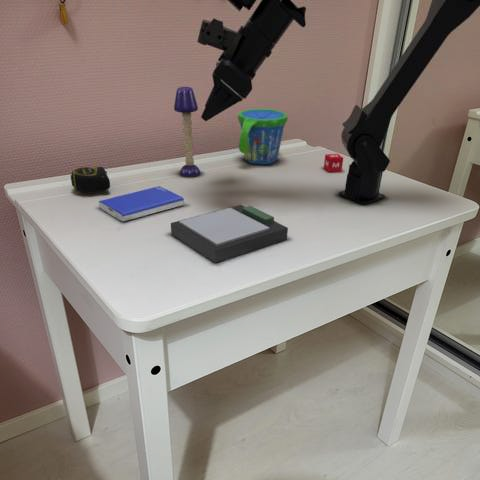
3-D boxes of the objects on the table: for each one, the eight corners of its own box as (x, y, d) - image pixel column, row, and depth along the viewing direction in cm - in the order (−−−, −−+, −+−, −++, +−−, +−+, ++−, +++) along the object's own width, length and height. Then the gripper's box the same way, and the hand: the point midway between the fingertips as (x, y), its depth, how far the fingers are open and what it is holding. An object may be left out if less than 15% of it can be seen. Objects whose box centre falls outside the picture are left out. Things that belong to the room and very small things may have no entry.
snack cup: (258, 173, 105) (260, 123, 99) (221, 163, 110) (221, 115, 104) (298, 158, 115) (302, 112, 109) (262, 149, 120) (264, 105, 114)
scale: (240, 215, 85) (240, 199, 83) (287, 239, 77) (288, 222, 76) (171, 234, 78) (170, 218, 76) (215, 263, 70) (215, 245, 68)
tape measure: (111, 195, 92) (109, 175, 90) (73, 198, 90) (70, 177, 88) (108, 183, 97) (106, 164, 95) (72, 185, 95) (69, 166, 93)
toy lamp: (190, 179, 100) (187, 90, 91) (172, 174, 102) (168, 87, 93) (204, 173, 104) (202, 87, 94) (186, 169, 106) (183, 84, 96)
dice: (328, 172, 106) (330, 158, 105) (323, 168, 109) (325, 154, 107) (341, 171, 107) (343, 157, 105) (336, 167, 110) (337, 153, 108)
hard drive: (158, 185, 92) (98, 199, 85) (183, 197, 87) (122, 213, 80) (158, 193, 93) (99, 208, 86) (184, 205, 88) (123, 222, 81)
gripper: (224, -5, 84) (173, 74, 91) (219, -4, 69) (158, 91, 75) (273, 41, 88) (221, 113, 95) (279, 52, 72) (216, 138, 79)
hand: (205, 113), depth 86 cm, fingers open, 9 cm apart
